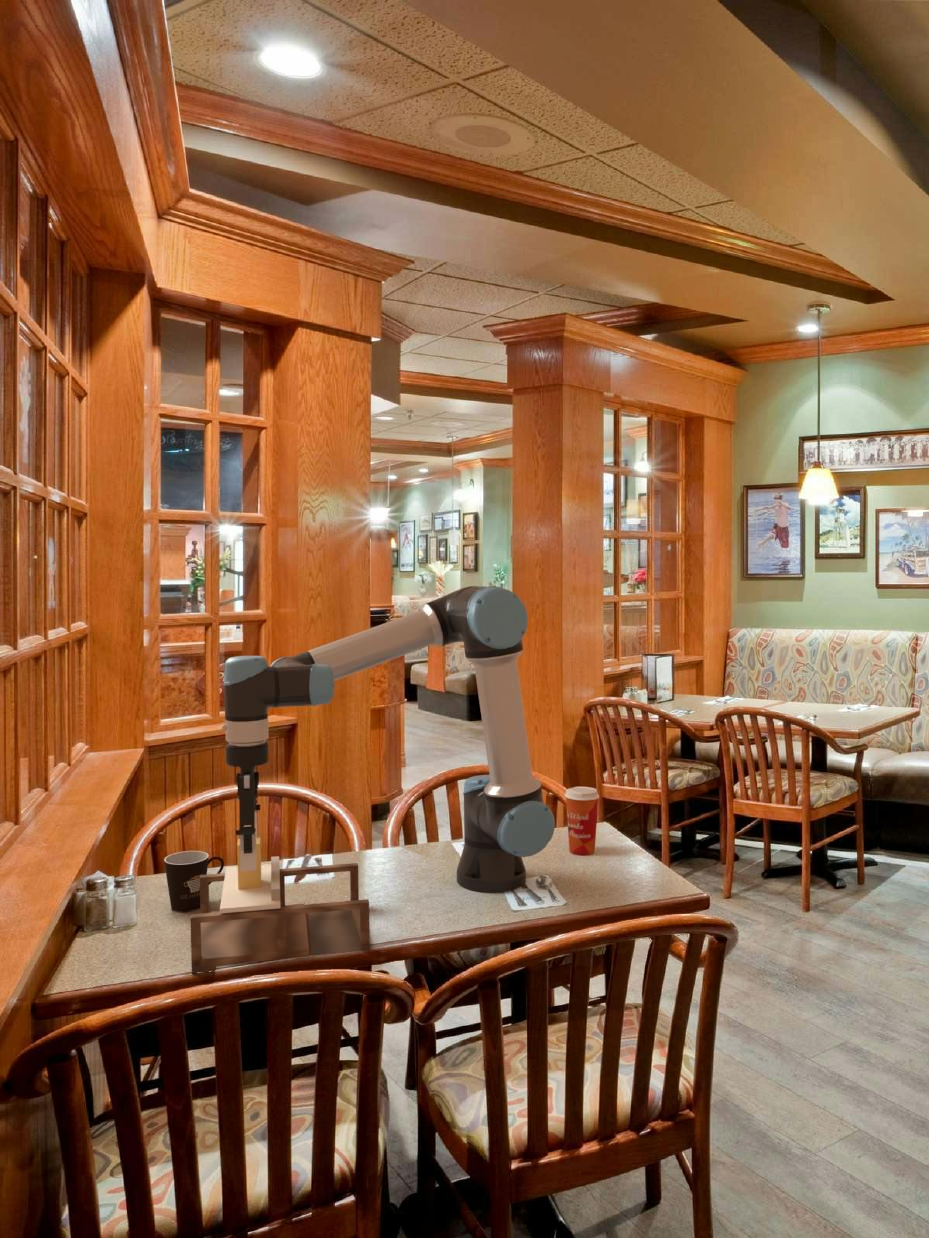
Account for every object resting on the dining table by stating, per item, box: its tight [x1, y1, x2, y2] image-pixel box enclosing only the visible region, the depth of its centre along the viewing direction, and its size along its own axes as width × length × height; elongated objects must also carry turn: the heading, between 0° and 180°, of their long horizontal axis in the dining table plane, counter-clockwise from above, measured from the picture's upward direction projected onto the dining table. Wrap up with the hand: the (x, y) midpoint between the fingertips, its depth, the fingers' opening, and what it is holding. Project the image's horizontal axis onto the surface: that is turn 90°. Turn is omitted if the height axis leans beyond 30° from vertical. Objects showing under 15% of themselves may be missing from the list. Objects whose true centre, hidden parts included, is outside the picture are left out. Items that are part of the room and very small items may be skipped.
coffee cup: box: [564, 786, 600, 857], centre depth 212 cm, size 8×8×15 cm
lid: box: [219, 855, 280, 913], centre depth 161 cm, size 10×22×3 cm, turn 12°
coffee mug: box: [163, 850, 225, 913], centre depth 180 cm, size 12×9×10 cm
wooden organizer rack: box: [189, 862, 371, 975], centre depth 163 cm, size 30×22×10 cm
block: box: [236, 836, 262, 889], centre depth 161 cm, size 4×4×8 cm
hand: (249, 857), depth 161 cm, fingers open, 13 cm apart
